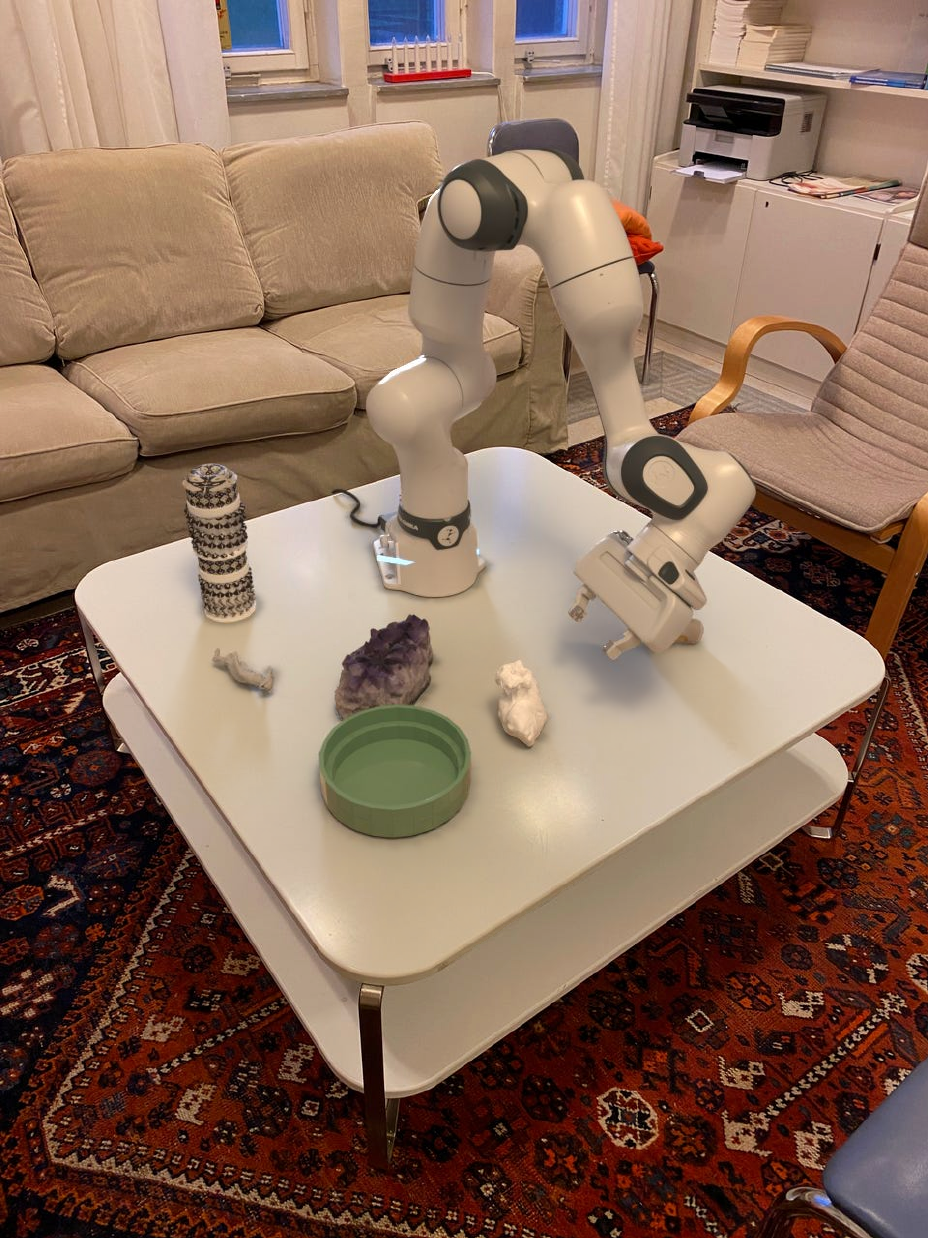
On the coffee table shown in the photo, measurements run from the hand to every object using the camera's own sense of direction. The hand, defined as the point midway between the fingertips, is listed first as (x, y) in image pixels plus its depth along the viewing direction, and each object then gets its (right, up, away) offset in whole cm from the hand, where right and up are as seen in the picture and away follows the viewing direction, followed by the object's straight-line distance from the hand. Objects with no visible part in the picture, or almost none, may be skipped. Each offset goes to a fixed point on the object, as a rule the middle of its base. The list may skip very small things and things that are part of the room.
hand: (589, 636), depth 130 cm
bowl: (-26, -19, -6) cm, 33 cm away
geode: (-28, -8, +11) cm, 31 cm away
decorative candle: (-56, +4, +27) cm, 62 cm away
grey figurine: (-50, -7, +12) cm, 51 cm away
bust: (-9, -13, +4) cm, 16 cm away
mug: (+15, -1, +21) cm, 26 cm away
